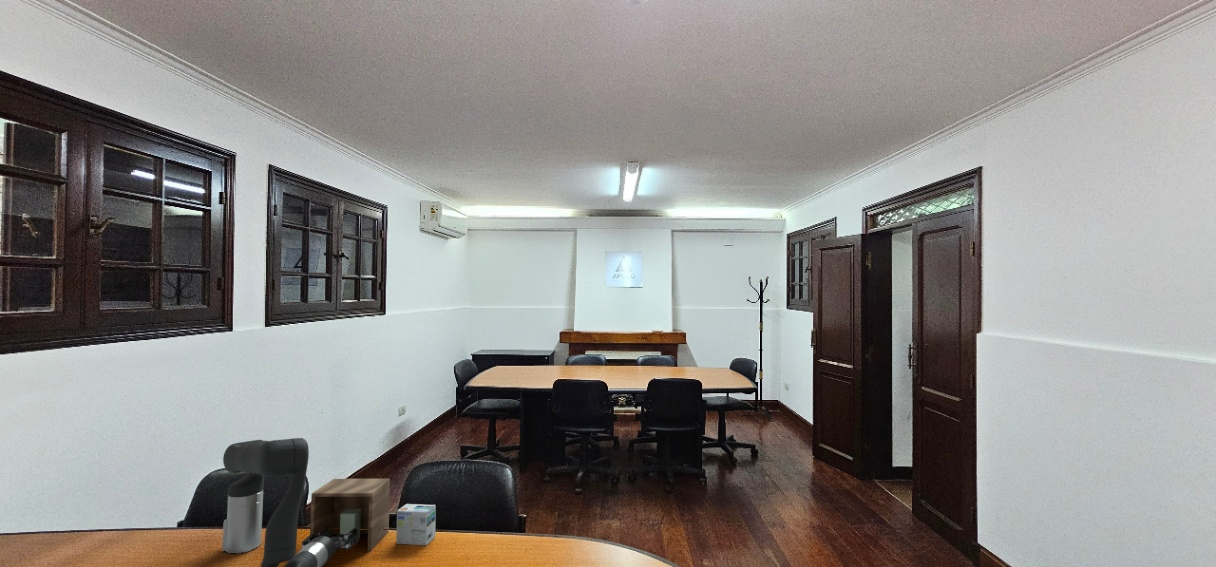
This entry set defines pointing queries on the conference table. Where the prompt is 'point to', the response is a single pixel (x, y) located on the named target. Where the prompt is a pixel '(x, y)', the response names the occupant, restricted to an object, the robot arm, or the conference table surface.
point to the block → (350, 521)
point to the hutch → (352, 506)
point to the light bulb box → (416, 524)
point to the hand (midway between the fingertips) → (341, 531)
